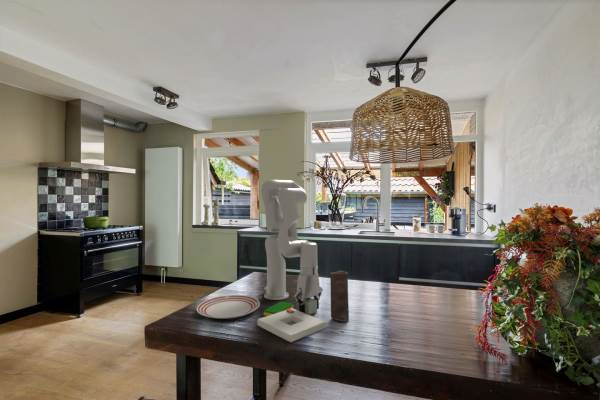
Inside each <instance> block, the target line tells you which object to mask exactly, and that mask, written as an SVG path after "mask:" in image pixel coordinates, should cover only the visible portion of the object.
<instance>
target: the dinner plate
mask: <svg viewBox="0 0 600 400" xmlns="http://www.w3.org/2000/svg"><path fill="white" fill-rule="evenodd" d="M260 305H261V302H260V300H259V299H257V298H255V297H253V296H251V295H250V296H249V295H243V294H228V295H227V294H226V295H220V296H215V297H212V298H208V299H206V300H204V301H202V302H201V303H199V304H198V305H197V307H196V312H197V313H198V314H199V315H201V316H204V317H205V318H209V319H217V320H218V319H219V320H231V319H236V318H240V317H245V316H247V315H249V314H251V313H253V312H255V311H256V310H257V309H258V308H259V307H260Z"/></svg>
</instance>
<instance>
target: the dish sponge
mask: <svg viewBox="0 0 600 400" xmlns="http://www.w3.org/2000/svg"><path fill="white" fill-rule="evenodd" d="M291 308H292V309H294V303H291V302H286V301H279V302H277V303H274V304H273V305H272V306H269V307H268V308H265V309H264V310H263V316H264V317H266V316H269V315H272V314H276V313H279V312H282V311H285V310H288V309H291Z"/></svg>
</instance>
